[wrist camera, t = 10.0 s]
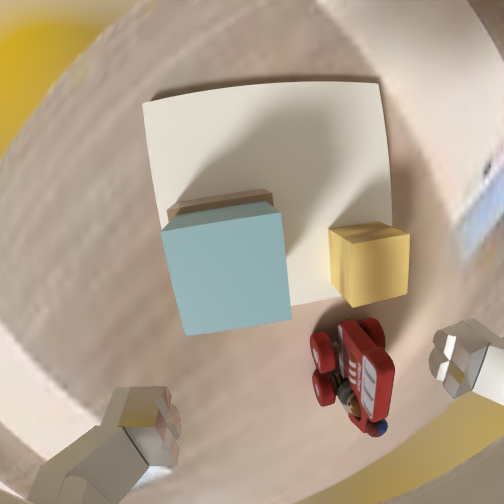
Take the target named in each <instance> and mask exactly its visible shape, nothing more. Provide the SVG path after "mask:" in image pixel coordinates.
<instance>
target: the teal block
mask: <svg viewBox="0 0 504 504" xmlns="http://www.w3.org/2000/svg"><path fill="white" fill-rule="evenodd" d="M161 237H162V242H163V246H164V251H165V256H166V260H167V264H168V269H169V273H170V277H171V281H172V285H173V290H174V294H175V297H176V301H177V305H178V309H179V313H180V317H181V320H182V324H183V328H184V331H185V335H186V336H190V335H197V334H205V333H212V332H219V331H226V330H232V329H239V328H245V327H251V326H257V325H263V324H268V323H274V322H279V321H285V320H290V319H292V315H291V304H290V294H289V283H288V273H287V263H286V254H285V244H284V235H283V226H282V218H281V212H280V211H278V210H277V209H276V208H275V207H273V206H272V205H271V204H269V203H268V202H267V201H261V202H255V203H248V204H241V205H235V206H228V207H222V208H216V209H210V210H204V211H198V212H192V213H186V214H180V215H175V216H174V217H173V218H172V220H171V221H170V222H169V223H168V224H167V225H166V226H165V227H164V228H163V230H162V231H161Z"/></svg>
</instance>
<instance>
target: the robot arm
mask: <svg viewBox="0 0 504 504" xmlns="http://www.w3.org/2000/svg"><path fill="white" fill-rule="evenodd" d="M433 343H434V345H435V347H434V349H433V350H432V351H431V353H430V357H429V367H430V370H431V373H432V375H433V376H434V377H435V378H436V379H437V380H440V381H443V388H444V389H445V390H446V391H447V392H448V393H449V394H450V396H451V397H452V398H453V399H455V398H457V397H459V396H461V395H463V394H465V393H467V392H469V391H471V390H472V391H473V392H475V393H477V394H479V395H481V396H484V397H486V398H488V399H490V400H493V401H495V402H497V403H499V404H501V405H504V337H503V338H500V337H498V336H497V335H496V334H495V333H493V332H492V331H491V330H489V329H488V328H487V327H485V326H484V325H483V324H481V323H480V322H479V321H477V320H476V319H474V318H470V317H469V318H467V319H465V320H463V321H460V322H459V323H456V324H453V325H451V326H448V327H446V328H443V329H441V330H438V331H437V332H436V333H435V335H434V339H433ZM171 397H172V396H171V393H170V391H169V389H168V387H166V386H153V387H117V388H116V389H115V390H114V392H113V394H112V397H111V399H110V402H109V404H108V407H107V409H106V412H105V414H104V417H103V420H102V422H101V425H100V426H94V427H93V428H92V429H91V430H89V431H88V432H87V433H85V434H84V435H83V436H81V437H80V438H79V439H77V440H76V441H75V442H73V443H72V444H70V445H69V446H68V447H66V448H65V449H64V450H62V451H61V452H60V453H58V454H57V455H55V456H54V457H53V458H51V459H50V460H49V461H47V462H46V463H44V464H43V465H42V466H40V469H39V471H38V473H37V476H36V478H35V481H34V483H33V485H32V488H31V490H30V493H29V496H28V498H27V500H25V499H22V498H20V497H18V496H15V495H13V494H11V493H9V492H7V491H4V490H2V489H0V504H118V503H119V502H120V501H121V500H122V499H123V498H124V497H125V495H126V494H127V493H128V492H129V491H130V490H131V488H132V487H133V486H134V485H135V484H136V483H137V481H138V480H139V479H140V478H141V477H142V475H143V474H144V473H145V472H146V471H147V469H148V468H149V466H177V463H178V454H179V447H178V445H177V443H176V440H177V439H178V438H179V437H180V435H181V422H180V416H179V412H178V410H177V408H176V406H174V405H173V404H171ZM378 504H504V435H503V436H501V437H500V438H499V439H497V440H496V441H495V442H493V443H492V444H490V445H489V446H488V447H486V448H485V449H483V450H482V451H480V452H479V453H477V454H476V455H474V456H472V457H471V458H469V459H468V460H466V461H465V462H463V463H461V464H460V465H458V466H456V467H454V468H453V469H451V470H450V471H448V472H446V473H444V474H442V475H440V476H438V477H437V478H435V479H433V480H431V481H429V482H427V483H425V484H423V485H420V486H418V487H416V488H414V489H412V490H410V491H408V492H405V493H403V494H401V495H399V496H396V497H393V498H391V499H389V500H386V501H383V502H381V503H378Z"/></svg>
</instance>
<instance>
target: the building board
mask: <svg viewBox="0 0 504 504" xmlns="http://www.w3.org/2000/svg"><path fill="white" fill-rule="evenodd" d="M142 104H143V113H144V122H145V130H146V138H147V145H148V152H149V159H150V166H151V172H152V178H153V184H154V190H155V196H156V202H157V207H158V212H159V218H160V223H161V228H162V230H163V228H164V227H165V226H166V225H167V224H168V223H169V222H170V221H171V220H172V218H173V217H174V216H175V215H180V214H186V213H192V212H198V211H204V210H210V209H216V208H222V207H228V206H235V205H241V204H248V203H255V202H261V201H267V202H268V203H269V204H271V205H272V206H273V207H275V208H276V209H277V210H278V211H280V212H281V218H282V226H283V235H284V244H285V254H286V263H287V273H288V283H289V294H290V304H291V306H294V305H299V304H304V303H309V302H314V301H319V300H324V299H329V298H334V297H339V296H342V295H341V294H340V293H339V292H338V290H337V289H336V288H335V287H334V286H333V285H332V284H331V272H330V252H329V236H328V229H329V228H336V227H343V226H350V225H356V224H363V223H370V222H377V221H379V222H382V223H384V224H387V225H389V226H392V196H391V180H390V167H389V156H388V146H387V137H386V129H385V122H384V115H383V109H382V102H381V97H380V91H379V85H378V84H376V83H360V82H285V83H269V84H256V85H246V86H237V87H228V88H221V89H214V90H207V91H201V92H195V93H189V94H184V95H179V96H174V97H169V98H164V99H160V100H155V101H151V102H147V103H142Z"/></svg>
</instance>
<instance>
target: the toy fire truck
mask: <svg viewBox="0 0 504 504" xmlns="http://www.w3.org/2000/svg"><path fill="white" fill-rule="evenodd" d="M310 346H311V352H312V356H313V359H314V362H315V365H316V368H317V369H318V372H315V373H314V374H313V376H312V379H313V386H314V390H315V394H316V397H317V399H318V402H319V404H320V405H321V406H323V407H324V406H328V405H331V404H333V403H335V399H336V396H337V395H338V398H339V400H340V402H341V403H342V405H343V407H344V409H345V411H346V412H347V414H348V416H349V418H350V420H351V421H352V422H353V423H354V424H355V425H356V426H357V427H358V428H359V429H360V430H361V431H362V432H363V433H368V434H369V435H370V436H372V437H380V436H382V435H383V434H384V433H385V432H386V430H387V427H388V425H387V422H386V420H385V419H384V418H386V417H387V416H388V413H389V407H390V401H391V395H392V388H393V382H394V374H395V366H394V363H393V361H392V359H391V358H390V356H389V355H388V354H387V353H386V351H385V335H384V332H383V329H382V327H381V325H380V323H379V322H378V321H377V320H376V319H375V318H368V319H364V320H362V321H360V323H359V325H358V323H357V322H356V321H355V320H353V319H349V320H346V321H343V322H341V323H339V324H338V338H337V344H333V345H332V343H331V341H330V338H329V336H328V334H327V333H326V332H324V331H322V332H318V333H315V334H312V335H311V337H310ZM336 353H339V368H340V373H339V375H338V374H337V373H334V374H331V375H330V374H329V372H330V371H333V370H334V369H335V367H336V359H335V354H336Z"/></svg>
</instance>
